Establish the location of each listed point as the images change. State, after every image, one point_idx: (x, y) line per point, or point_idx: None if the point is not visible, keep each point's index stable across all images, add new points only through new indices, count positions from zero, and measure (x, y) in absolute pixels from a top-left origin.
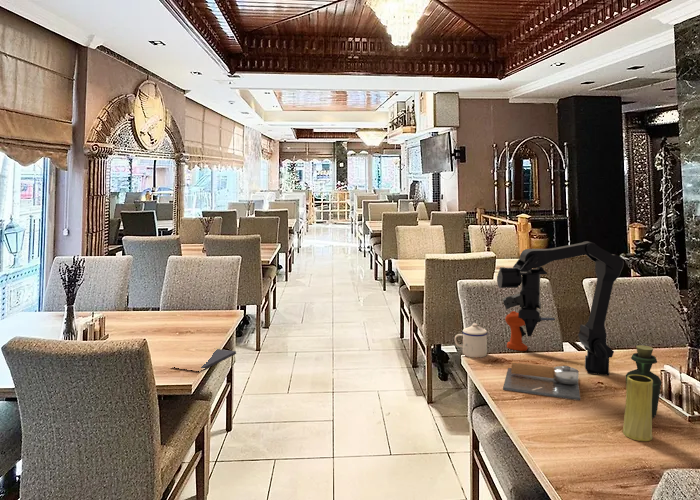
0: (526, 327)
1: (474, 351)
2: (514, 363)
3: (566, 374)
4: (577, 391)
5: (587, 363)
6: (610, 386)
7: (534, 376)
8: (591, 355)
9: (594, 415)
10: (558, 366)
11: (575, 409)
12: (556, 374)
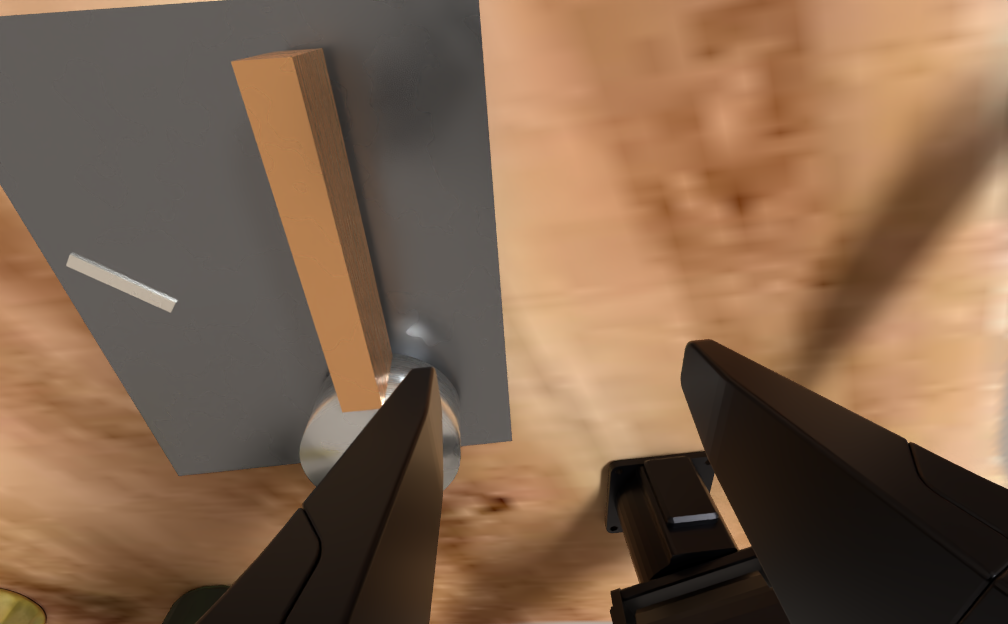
0: (313, 505)
1: None
2: (244, 98)
3: (304, 464)
4: (262, 459)
5: (655, 497)
6: (466, 533)
7: (368, 237)
8: (662, 561)
9: (49, 514)
10: None
11: (45, 457)
12: (320, 403)
